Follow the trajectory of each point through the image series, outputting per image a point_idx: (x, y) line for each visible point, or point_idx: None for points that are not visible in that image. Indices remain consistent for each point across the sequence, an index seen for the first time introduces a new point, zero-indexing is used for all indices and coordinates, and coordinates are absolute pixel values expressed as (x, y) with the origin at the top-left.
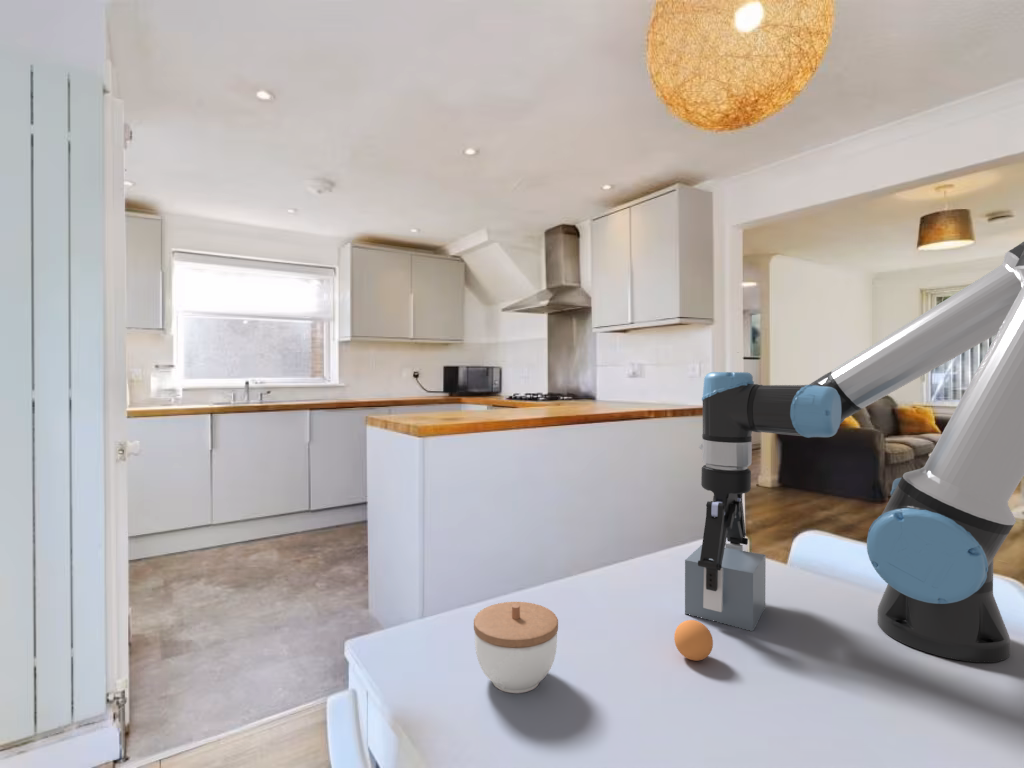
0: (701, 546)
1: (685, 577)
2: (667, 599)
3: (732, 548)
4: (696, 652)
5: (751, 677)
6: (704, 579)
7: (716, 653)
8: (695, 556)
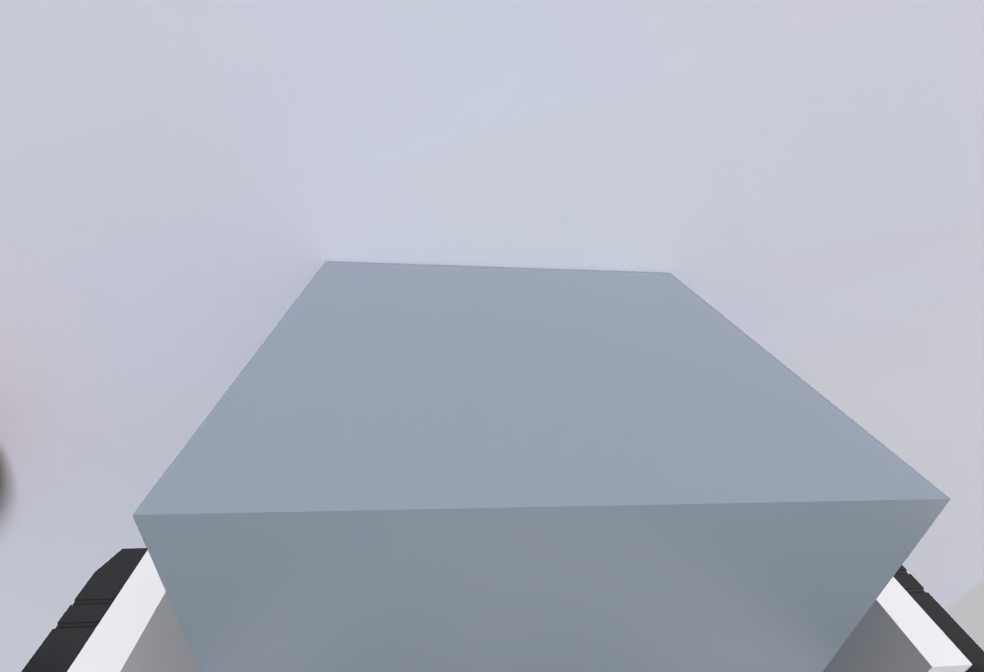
0: (833, 513)
1: (239, 380)
2: (477, 102)
3: (869, 659)
4: None
5: (2, 563)
6: (134, 579)
7: (52, 459)
8: (383, 559)
